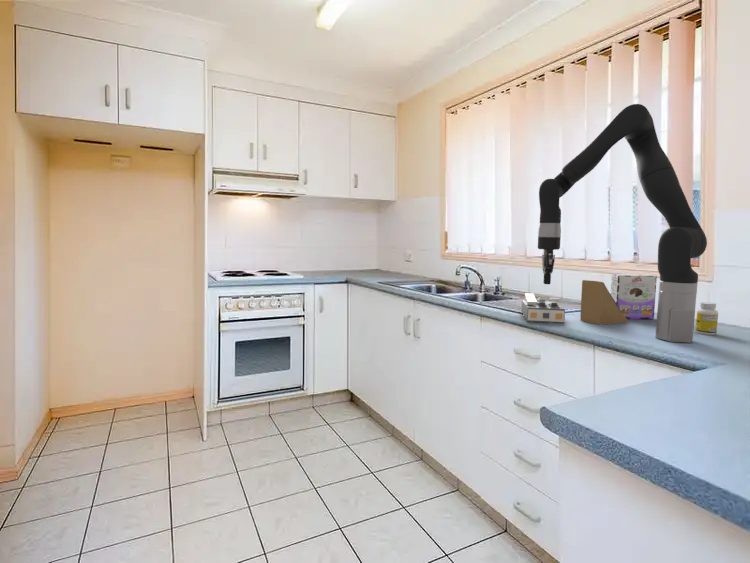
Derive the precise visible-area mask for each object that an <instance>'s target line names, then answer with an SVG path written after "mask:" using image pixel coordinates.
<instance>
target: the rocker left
mask: <svg viewBox="0 0 750 563" xmlns="http://www.w3.org/2000/svg"><path fill="white" fill-rule="evenodd" d="M524 298H525V301H526V302H527V305H537V301H536V296H535V294H534V293H524Z"/></svg>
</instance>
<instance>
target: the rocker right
mask: <svg viewBox="0 0 750 563" xmlns="http://www.w3.org/2000/svg"><path fill="white" fill-rule="evenodd" d="M562 300H563V299H562V298H559V297H558V298H557V297H549V302H556V303H562Z"/></svg>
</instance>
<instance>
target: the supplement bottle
mask: <svg viewBox="0 0 750 563" xmlns="http://www.w3.org/2000/svg"><path fill="white" fill-rule="evenodd" d="M699 306H700V308H699V309H697V311H696V321H695V332H696V333H697V334H700V335H708V336H714V335H715V336H716V335H717V332H718V321H719V312H718V310H716V308H717V303H715V302H710V301H701V302H700V303H699Z"/></svg>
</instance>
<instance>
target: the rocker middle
mask: <svg viewBox="0 0 750 563" xmlns="http://www.w3.org/2000/svg"><path fill="white" fill-rule="evenodd" d="M535 298H536V297H535ZM549 298H550V297H549V296H539V297H537V298H536V301H537V302H546V301H549ZM549 302H550V301H549Z"/></svg>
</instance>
